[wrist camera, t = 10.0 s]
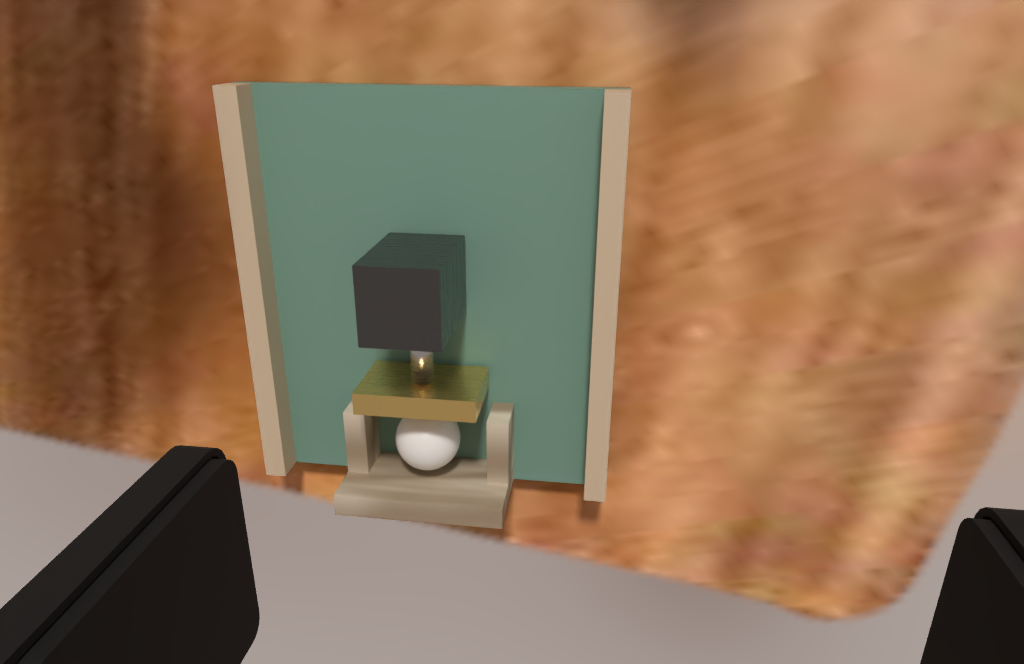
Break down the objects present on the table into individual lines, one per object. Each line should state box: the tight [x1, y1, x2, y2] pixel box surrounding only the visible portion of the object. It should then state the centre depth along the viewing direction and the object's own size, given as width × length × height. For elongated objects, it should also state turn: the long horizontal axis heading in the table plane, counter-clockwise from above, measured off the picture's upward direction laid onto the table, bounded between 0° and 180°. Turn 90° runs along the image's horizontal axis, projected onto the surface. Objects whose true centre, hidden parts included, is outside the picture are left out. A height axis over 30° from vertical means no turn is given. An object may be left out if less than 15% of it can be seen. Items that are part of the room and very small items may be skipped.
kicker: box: [352, 232, 489, 423], centre depth 37 cm, size 9×6×6 cm
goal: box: [333, 401, 514, 529], centre depth 41 cm, size 5×9×5 cm, turn 90°
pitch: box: [212, 82, 631, 502], centre depth 40 cm, size 22×20×3 cm
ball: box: [396, 418, 460, 470], centre depth 41 cm, size 4×4×4 cm
